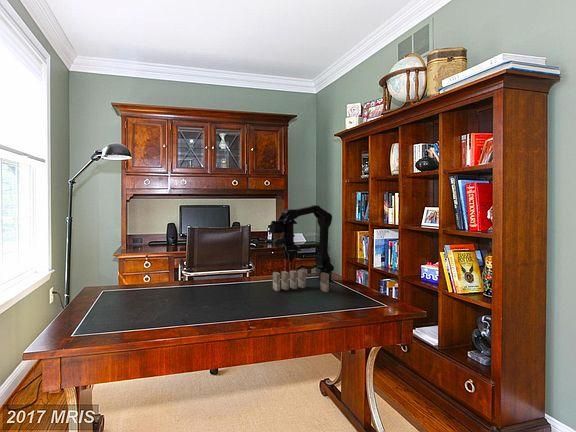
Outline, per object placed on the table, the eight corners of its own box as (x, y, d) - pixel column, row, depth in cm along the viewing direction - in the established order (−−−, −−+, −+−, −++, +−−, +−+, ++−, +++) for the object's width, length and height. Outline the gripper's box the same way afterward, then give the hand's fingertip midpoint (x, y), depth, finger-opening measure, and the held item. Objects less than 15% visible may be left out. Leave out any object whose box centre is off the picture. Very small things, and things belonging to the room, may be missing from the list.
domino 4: (301, 285, 211) (301, 269, 210) (305, 287, 207) (305, 271, 206) (297, 286, 210) (298, 269, 209) (302, 288, 206) (302, 271, 205)
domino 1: (276, 288, 204) (276, 272, 204) (280, 290, 200) (280, 273, 199) (272, 289, 203) (272, 272, 203) (276, 291, 199) (276, 274, 198)
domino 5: (323, 289, 203) (323, 272, 203) (328, 291, 199) (328, 274, 198) (320, 289, 202) (320, 272, 202) (325, 292, 198) (325, 274, 197)
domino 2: (284, 287, 206) (284, 271, 206) (288, 289, 202) (288, 272, 202) (281, 288, 205) (281, 271, 205) (285, 290, 201) (285, 273, 201)
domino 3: (293, 286, 209) (293, 270, 208) (297, 288, 204) (297, 272, 204) (289, 287, 208) (289, 270, 207) (293, 289, 203) (293, 272, 203)
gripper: (270, 231, 216) (271, 258, 217) (276, 235, 197) (277, 265, 198) (290, 230, 218) (290, 257, 219) (297, 234, 200) (298, 264, 201)
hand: (288, 261), depth 209 cm, fingers open, 9 cm apart
